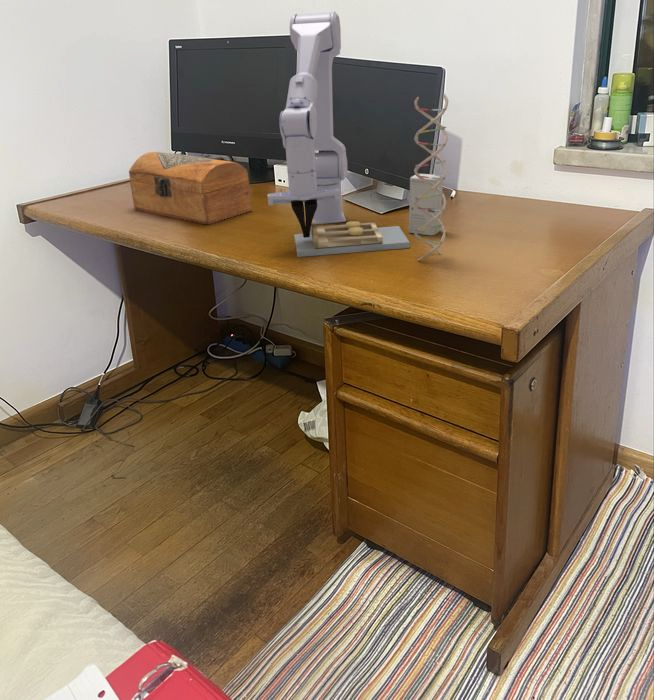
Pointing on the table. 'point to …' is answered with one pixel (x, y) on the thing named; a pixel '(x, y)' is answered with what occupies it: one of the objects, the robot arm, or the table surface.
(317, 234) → the beige flat slatted frame
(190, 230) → the table surface
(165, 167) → the wooden box
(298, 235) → the board
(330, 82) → the robot arm
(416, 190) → the skincare box
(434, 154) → the dna model
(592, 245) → the table surface
